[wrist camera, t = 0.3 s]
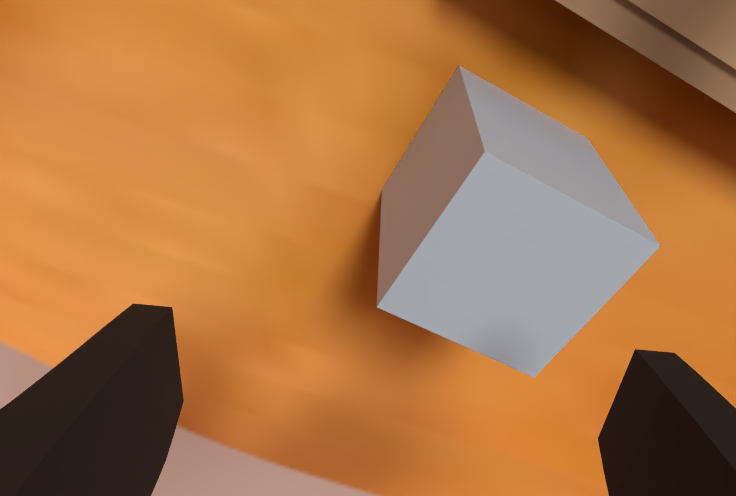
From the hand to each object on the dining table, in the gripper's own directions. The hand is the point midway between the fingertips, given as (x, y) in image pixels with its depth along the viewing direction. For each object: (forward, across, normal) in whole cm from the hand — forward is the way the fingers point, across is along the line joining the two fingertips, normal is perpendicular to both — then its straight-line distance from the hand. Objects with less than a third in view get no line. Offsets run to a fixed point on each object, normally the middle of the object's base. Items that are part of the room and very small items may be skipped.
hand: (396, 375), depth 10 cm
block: (+10, -3, +1) cm, 11 cm away
